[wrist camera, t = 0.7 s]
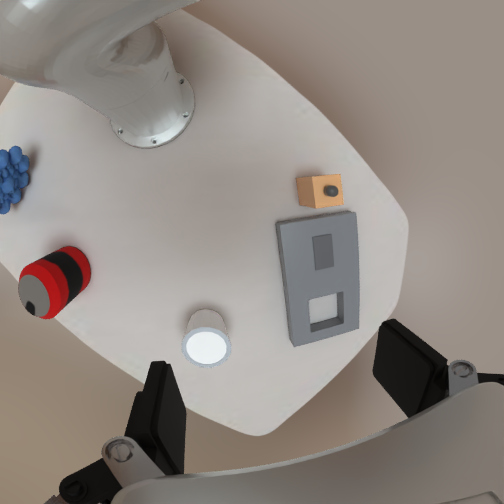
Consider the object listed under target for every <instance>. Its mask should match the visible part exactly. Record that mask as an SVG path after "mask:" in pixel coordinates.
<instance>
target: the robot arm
mask: <svg viewBox="0 0 504 504" xmlns="http://www.w3.org/2000/svg"><path fill="white" fill-rule="evenodd" d="M198 1H201V0H0V74H1V75H3V76H4V77H6V78H8V79H11V80H13V81H16V82H18V83H21V84H24V85H29V86H34V87H40V88H47V89H54V90H59V91H62V92H65V93H67V94H69V95H72V96H73V97H75V98H77V99H79V100H80V101H82V102H84V103H85V104H87V105H89V106H90V107H92V108H93V109H95V110H96V111H98V112H100V113H101V114H103V115H104V116H106V117H107V118H109V119H110V122H111V126H112V128H113V130H114V132H115V133H116V135H117V136H118V137H119V138H120V139H121V140H122V141H123V142H125V143H127V144H129V145H131V146H134V147H138V148H154V147H159V146H161V145H164V144H167V143H168V142H170V141H172V140H174V139H175V138H176V137H177V136H179V135H180V134H181V133H182V132H183V130H184V129H185V128H186V127H187V125H188V124H189V122H190V120H191V118H192V115H193V112H194V107H195V97H194V92H193V89H192V87H191V85H190V83H189V82H188V80H187V79H186V78H185V77H184V76H183V75H181V74H180V73H178V72H176V71H175V68H174V64H173V61H172V57H171V54H170V51H169V47H168V43H167V40H166V37H165V35H164V33H163V31H162V30H161V29H160V27H159V26H158V25H157V24H156V23H155V22H154V20H156V19H158V18H160V17H162V16H165V15H167V14H169V13H171V12H173V11H176V10H178V9H180V8H183V7H185V6H188V5H190V4H193V3H195V2H198ZM181 82H183V84H180V83H181ZM186 115H187V116H188V117H187V118H184V116H186ZM121 131H123V133H122V134H121ZM155 140H157V143H154V141H155ZM373 375H374V377H375V378H376V379H377V381H378V382H379V383H380V384H381V385H382V386H383V388H384V389H385V390H386V391H387V392H388V394H389V395H390V396H391V397H392V399H393V400H394V401H395V402H396V403H397V405H398V406H399V407H400V408H401V409H402V411H403V412H404V413H405V414H406V415H407V417H408V419H406V420H404V421H402V422H400V423H397V424H395V425H393V426H391V427H389V428H386V429H384V430H382V431H379V432H377V433H374V434H372V435H369V436H367V437H364V438H362V439H359V440H356V441H353V442H351V443H348V444H345V445H342V446H339V447H336V448H333V449H329V450H326V451H323V452H319V453H316V454H312V455H308V456H304V457H300V458H296V459H292V460H288V461H283V462H278V463H273V464H268V465H262V466H256V467H249V468H242V469H235V470H226V471H217V472H204V473H192V474H184V452H185V431H186V408H185V405H184V402H183V400H182V397H181V394H180V391H179V388H178V385H177V382H176V379H175V376H174V373H173V370H172V367H171V365H170V364H166V362H165V361H152V362H151V365H150V368H149V371H148V375H147V378H146V382H145V385H144V389H143V391H142V392H141V391H140V392H137V393H136V396H135V399H134V403H133V406H132V410H131V413H130V417H129V420H128V424H127V427H126V431H125V435H124V436H119V437H114V438H111V439H110V440H108V441H107V442H106V443H105V444H104V445H103V447H102V451H101V454H102V457H103V458H101V459H100V460H98V461H96V462H94V463H92V464H90V465H89V466H87V467H85V468H83V469H81V470H79V471H77V472H75V473H73V474H71V475H69V476H67V477H66V478H64V479H63V480H62V482H61V483H60V486H59V492H60V494H59V495H58V496H57V497H56V496H55V495H53V496H52V497H51V498H50V499H49V500H48V501H46V502H45V503H44V504H504V375H503V374H486V373H477V372H476V368H475V366H474V365H473V364H472V363H470V362H469V361H465V360H456V361H453V362H452V363H450V365H449V366H448V365H447V359H446V358H444V357H443V356H442V355H441V354H440V353H438V352H437V351H436V350H434V349H433V348H432V347H431V346H429V345H428V344H427V343H426V342H424V341H423V340H422V339H420V338H419V337H418V336H416V335H415V334H414V333H413V332H411V331H410V330H409V329H407V328H406V327H405V326H403V325H402V324H401V323H399V322H398V321H397V320H396V319H390V320H387V321H384V322H382V325H381V326H380V327H379V332H378V340H377V347H376V353H375V360H374V366H373Z"/></svg>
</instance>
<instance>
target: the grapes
mask: <svg viewBox="0 0 504 504" xmlns="http://www.w3.org/2000/svg"><path fill="white" fill-rule="evenodd" d="M28 168H29V158H28V157H27V156H26V155H22V150H21V148H20V147H18V146H13V147H12V148H11V149H10V150H9V152H7V151H6V150H3V149H2V150H0V214H6V213H8V212H9V210H10V205H11V203H12V204H15V203H18V202H19V201H20V199H21V190H20V188H23V187H25V186H26V185H27V184H28V179H29V177H28V174H27V172H26V171H27V170H28ZM10 202H11V203H10Z"/></svg>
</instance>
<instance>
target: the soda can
mask: <svg viewBox="0 0 504 504" xmlns="http://www.w3.org/2000/svg"><path fill="white" fill-rule="evenodd" d="M90 275H91V272H90V266H89V263H88V261H87V259H86V257H85V256H84V254H83V253H82V252H81V251H79V250H78V249H76V248H74V247H69V246H67V247H63V248H61V249H59V250H57V251H55V252H53V253H51V254H49V255H47V256H45V257H43V258H41V259H39V260H37V261H35V262H33V263H31V264H29V265H27V266H25V268H24V269H23V270H22V272H21V274H20V278H19V287H18V290H19V291H18V292H19V297H20V300H21V302H22V304H23V305H24V307H25V308H26V310H27V311H28V312H30V313H31V314H32V315H34V316H37V317H40V318H43V319H50V318H53V317H55V316H56V315H57V314H58V313H59V312H60V311H61V310H62V309H63V308H64V307H65V306H66V305H67V304H68V303H70V302H71V301H72V300H73V299H74V298H75V297H76V296H77V295H78V294H79V293H80V292H81V291H83V290H84V289H85V288H86V287H87V285H88V283H89V281H90Z"/></svg>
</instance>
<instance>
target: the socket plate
mask: <svg viewBox="0 0 504 504" xmlns="http://www.w3.org/2000/svg"><path fill="white" fill-rule="evenodd" d="M276 230H277V237H278V244H279V252H280V260H281V267H282V275H283V284H284V292H285V300H286V309H287V318H288V327H289V336H290V341H291V343H292V344H293V346H294V347H296V346H300V345H304V344H308V343H312V342H315V341H319V340H322V339H326V338H329V337H333V336H336V335H340V334H343V333H346V332H349V331H352V330H356V329H359V303H360V284H359V249H358V231H357V218H356V212H351V211H345V212H338V213H332V214H325V215H319V216H313V217H306V218H300V219H294V220H288V221H282V222H276ZM334 293H337V303H338V317H336V318H332V319H329V320H325V321H321V322H318V323H314V324H310V316H309V302H308V300H310V299H314V298H318V297H322V296H326V295H330V294H334Z"/></svg>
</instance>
